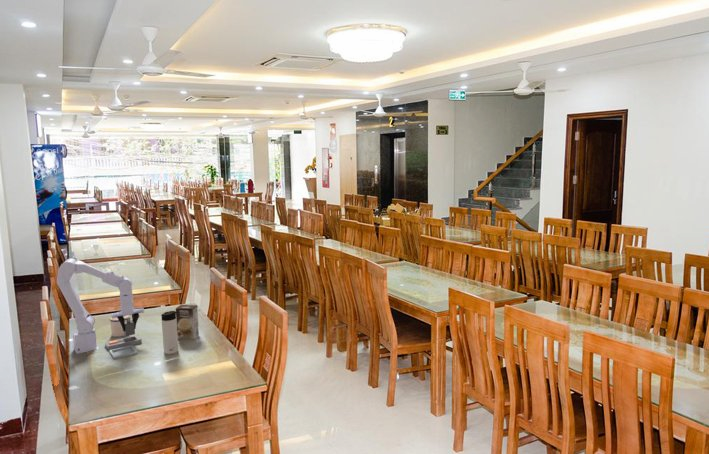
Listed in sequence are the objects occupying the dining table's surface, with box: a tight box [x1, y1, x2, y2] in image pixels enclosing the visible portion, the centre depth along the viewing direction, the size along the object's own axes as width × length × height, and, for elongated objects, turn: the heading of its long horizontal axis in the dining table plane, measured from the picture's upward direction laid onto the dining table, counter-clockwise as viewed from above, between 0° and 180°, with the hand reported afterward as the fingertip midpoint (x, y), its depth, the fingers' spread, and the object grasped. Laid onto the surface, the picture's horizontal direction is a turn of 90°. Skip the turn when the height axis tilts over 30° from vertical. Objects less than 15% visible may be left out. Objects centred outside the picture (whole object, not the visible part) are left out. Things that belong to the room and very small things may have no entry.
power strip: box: [104, 334, 143, 351], centre depth 243 cm, size 15×7×3 cm, turn 126°
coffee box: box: [175, 304, 200, 340], centre depth 252 cm, size 9×6×16 cm
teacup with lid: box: [109, 315, 130, 338], centre depth 260 cm, size 12×9×12 cm
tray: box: [108, 345, 139, 360], centre depth 233 cm, size 10×10×2 cm
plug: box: [124, 317, 136, 337], centre depth 244 cm, size 4×4×8 cm
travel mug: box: [161, 310, 179, 356], centre depth 232 cm, size 6×7×20 cm
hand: (129, 329), depth 244 cm, fingers closed on plug, 4 cm apart
